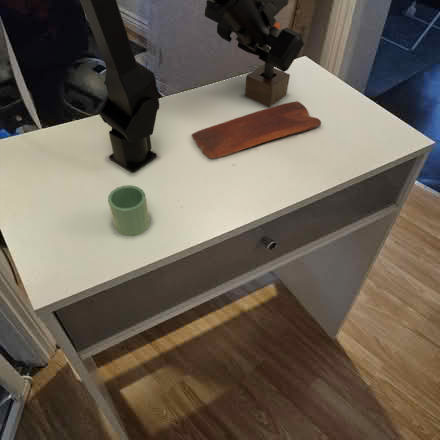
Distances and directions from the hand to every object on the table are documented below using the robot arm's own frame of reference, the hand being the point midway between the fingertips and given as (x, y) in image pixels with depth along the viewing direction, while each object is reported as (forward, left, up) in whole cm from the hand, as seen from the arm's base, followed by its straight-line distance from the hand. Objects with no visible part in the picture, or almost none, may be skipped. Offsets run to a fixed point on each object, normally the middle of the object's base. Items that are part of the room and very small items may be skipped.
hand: (274, 59), depth 82 cm
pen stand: (-1, 0, -7) cm, 7 cm away
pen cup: (-48, -6, -7) cm, 49 cm away
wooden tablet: (-14, -6, -7) cm, 17 cm away
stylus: (-1, 0, -7) cm, 7 cm away
